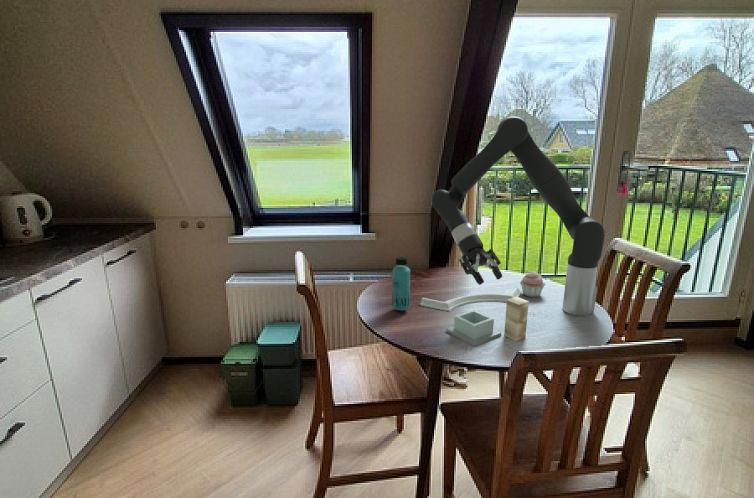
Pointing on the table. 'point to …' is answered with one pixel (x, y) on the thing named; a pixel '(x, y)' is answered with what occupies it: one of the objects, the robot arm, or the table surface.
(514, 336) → the wooden block
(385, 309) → the table surface
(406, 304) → the beverage bottle
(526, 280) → the cupcake
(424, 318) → the table surface
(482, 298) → the molding
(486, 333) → the square socket base
